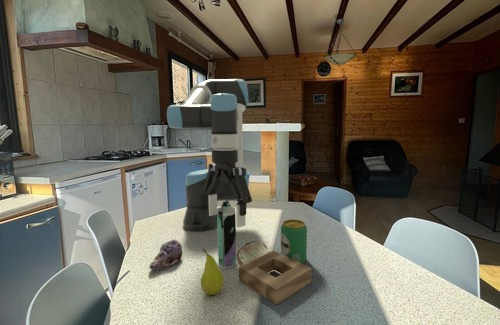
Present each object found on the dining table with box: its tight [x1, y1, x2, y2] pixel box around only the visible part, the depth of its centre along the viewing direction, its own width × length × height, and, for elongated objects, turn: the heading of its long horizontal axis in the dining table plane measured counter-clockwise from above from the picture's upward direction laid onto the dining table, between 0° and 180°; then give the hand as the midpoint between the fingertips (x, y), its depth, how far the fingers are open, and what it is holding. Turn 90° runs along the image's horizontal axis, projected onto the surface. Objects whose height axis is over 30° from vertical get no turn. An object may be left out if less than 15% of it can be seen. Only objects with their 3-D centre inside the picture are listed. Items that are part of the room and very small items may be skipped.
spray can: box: [216, 201, 237, 270], centre depth 82 cm, size 6×6×20 cm
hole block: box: [237, 250, 313, 306], centre depth 74 cm, size 14×14×4 cm
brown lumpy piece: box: [149, 239, 184, 274], centre depth 84 cm, size 12×8×6 cm, turn 150°
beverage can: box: [280, 218, 308, 264], centre depth 85 cm, size 8×8×12 cm
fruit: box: [200, 248, 224, 296], centre depth 68 cm, size 6×6×12 cm
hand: (226, 220), depth 81 cm, fingers open, 13 cm apart
